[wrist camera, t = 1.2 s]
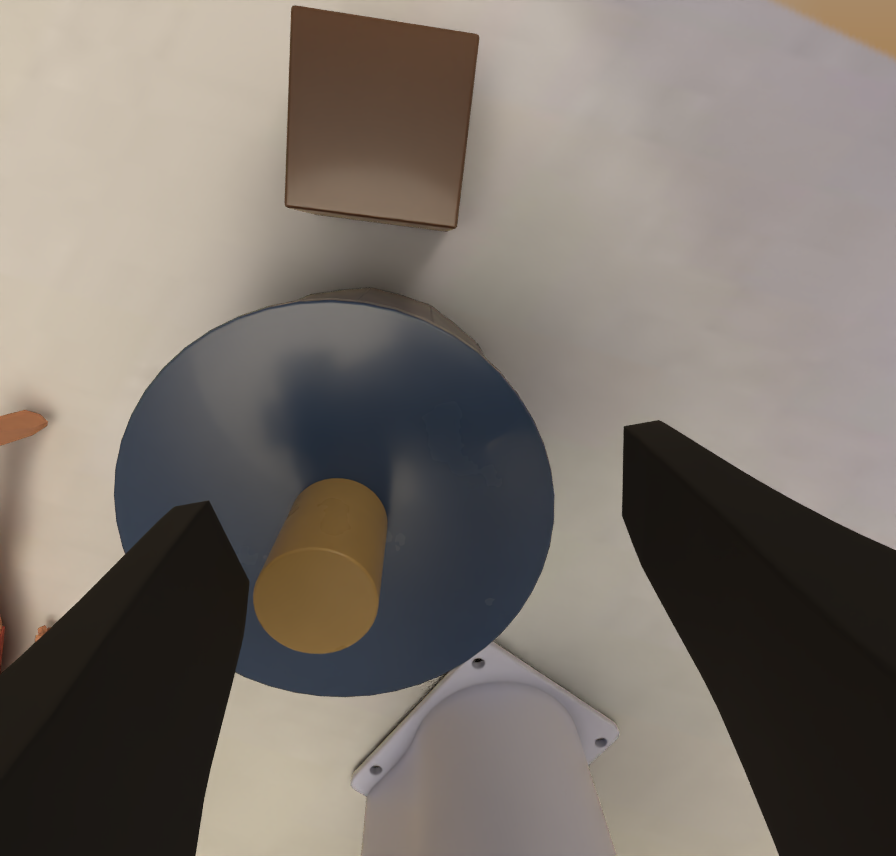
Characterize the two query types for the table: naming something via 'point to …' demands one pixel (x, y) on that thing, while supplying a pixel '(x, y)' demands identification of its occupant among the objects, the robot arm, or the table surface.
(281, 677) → the lid
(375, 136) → the block
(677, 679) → the table surface
